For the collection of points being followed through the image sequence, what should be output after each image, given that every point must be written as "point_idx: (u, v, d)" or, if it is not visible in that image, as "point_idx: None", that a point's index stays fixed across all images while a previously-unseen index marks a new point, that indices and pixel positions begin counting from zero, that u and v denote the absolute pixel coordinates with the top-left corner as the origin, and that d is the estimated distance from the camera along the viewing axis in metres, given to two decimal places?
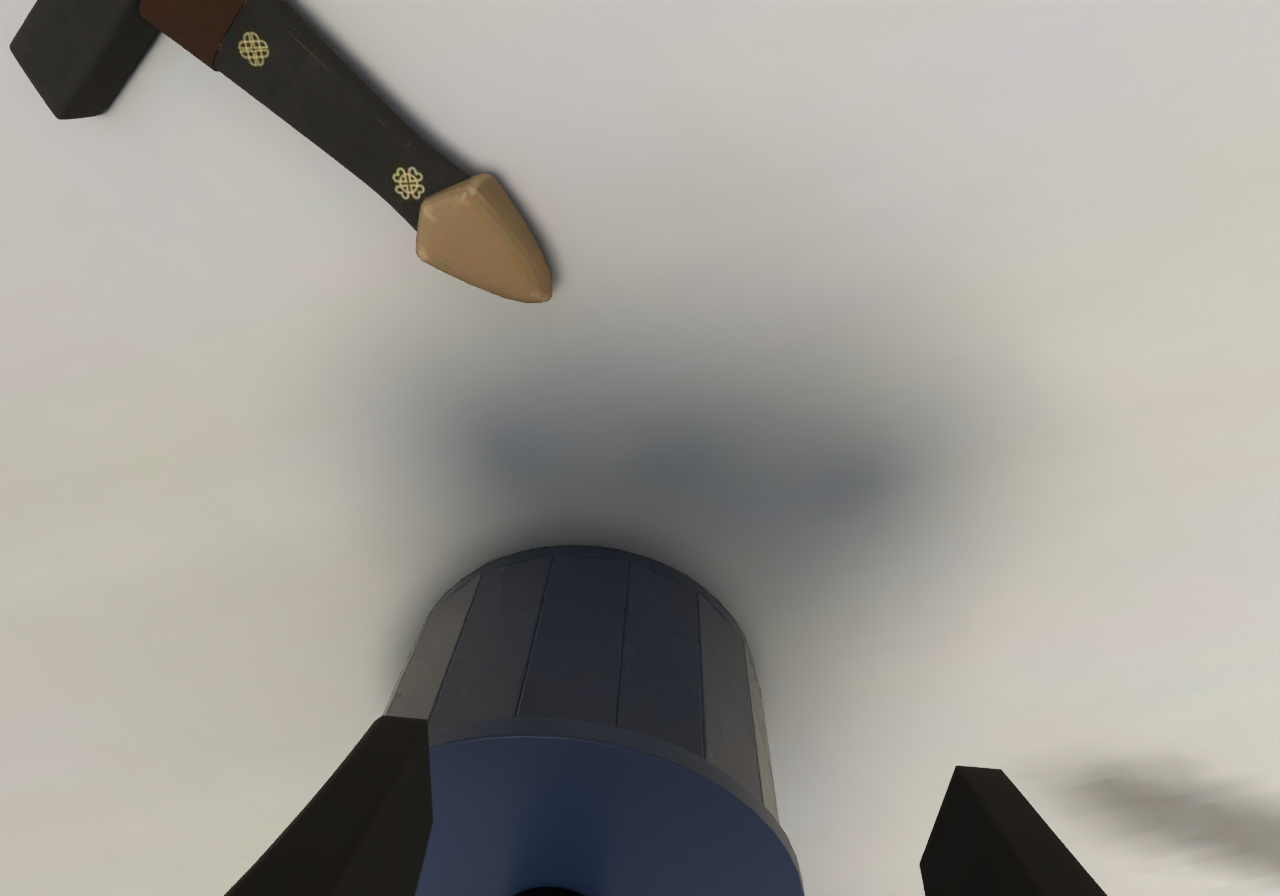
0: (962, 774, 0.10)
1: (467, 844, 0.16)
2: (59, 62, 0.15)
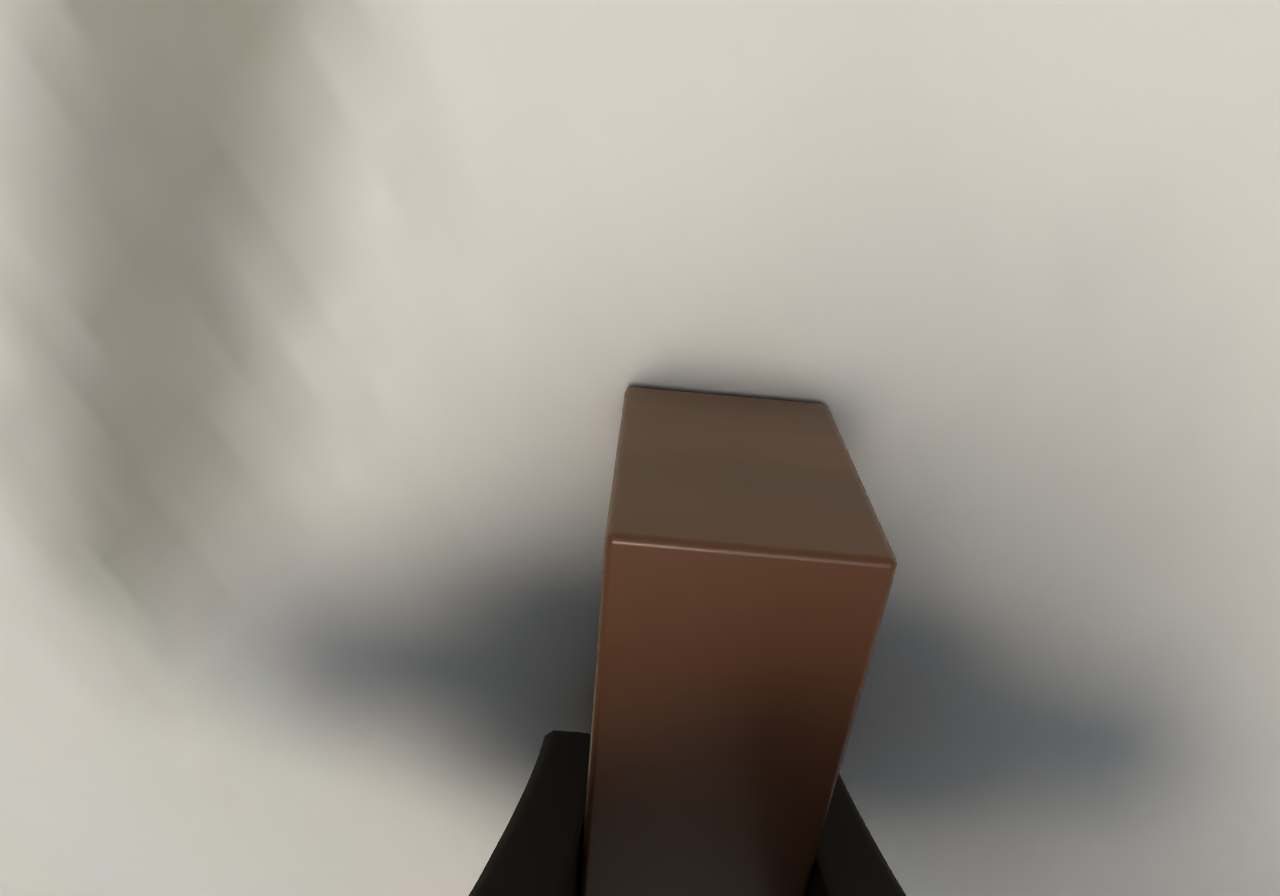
0: None
1: None
2: None
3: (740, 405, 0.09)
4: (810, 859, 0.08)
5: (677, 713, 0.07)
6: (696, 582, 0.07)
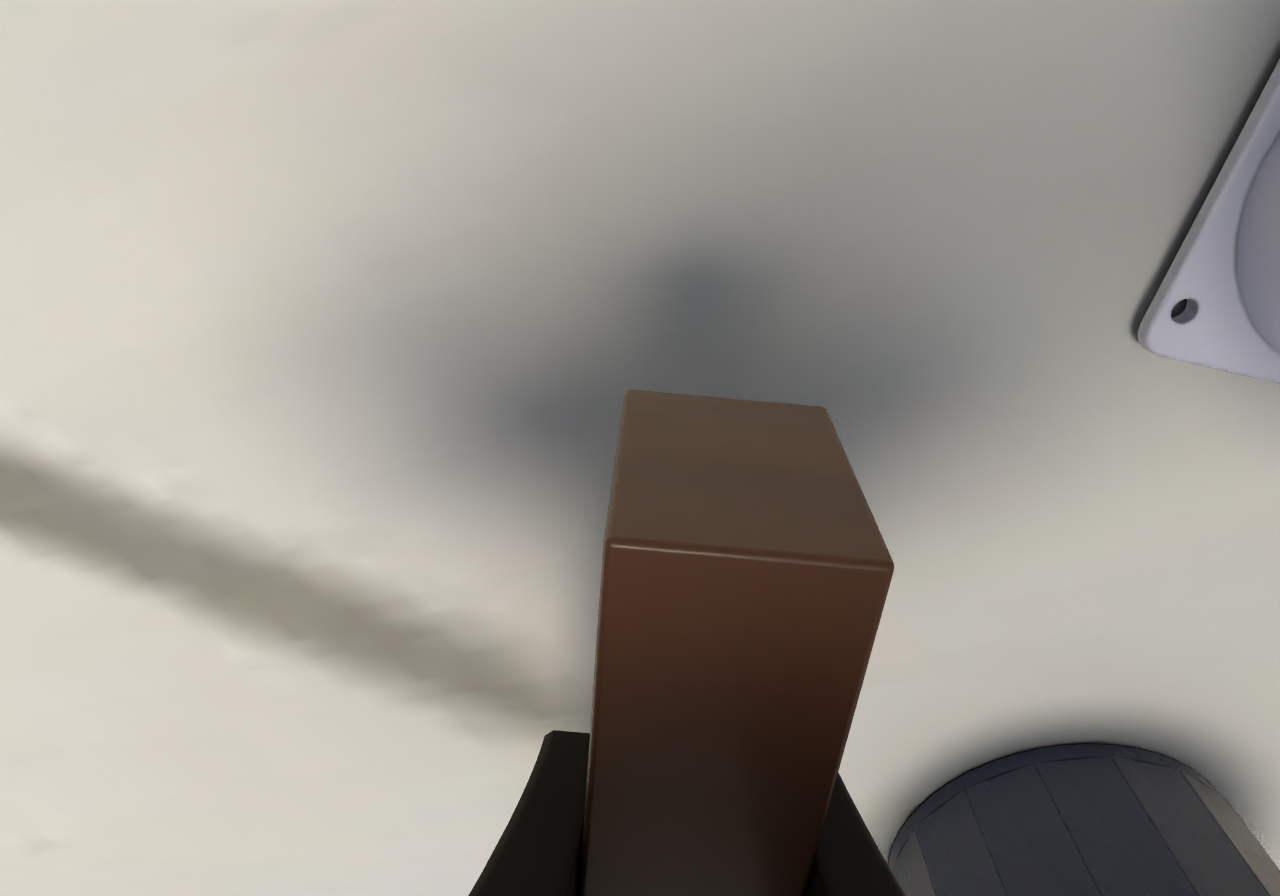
0: None
1: None
2: None
3: (739, 408, 0.09)
4: (809, 861, 0.08)
5: (677, 715, 0.07)
6: (695, 585, 0.07)
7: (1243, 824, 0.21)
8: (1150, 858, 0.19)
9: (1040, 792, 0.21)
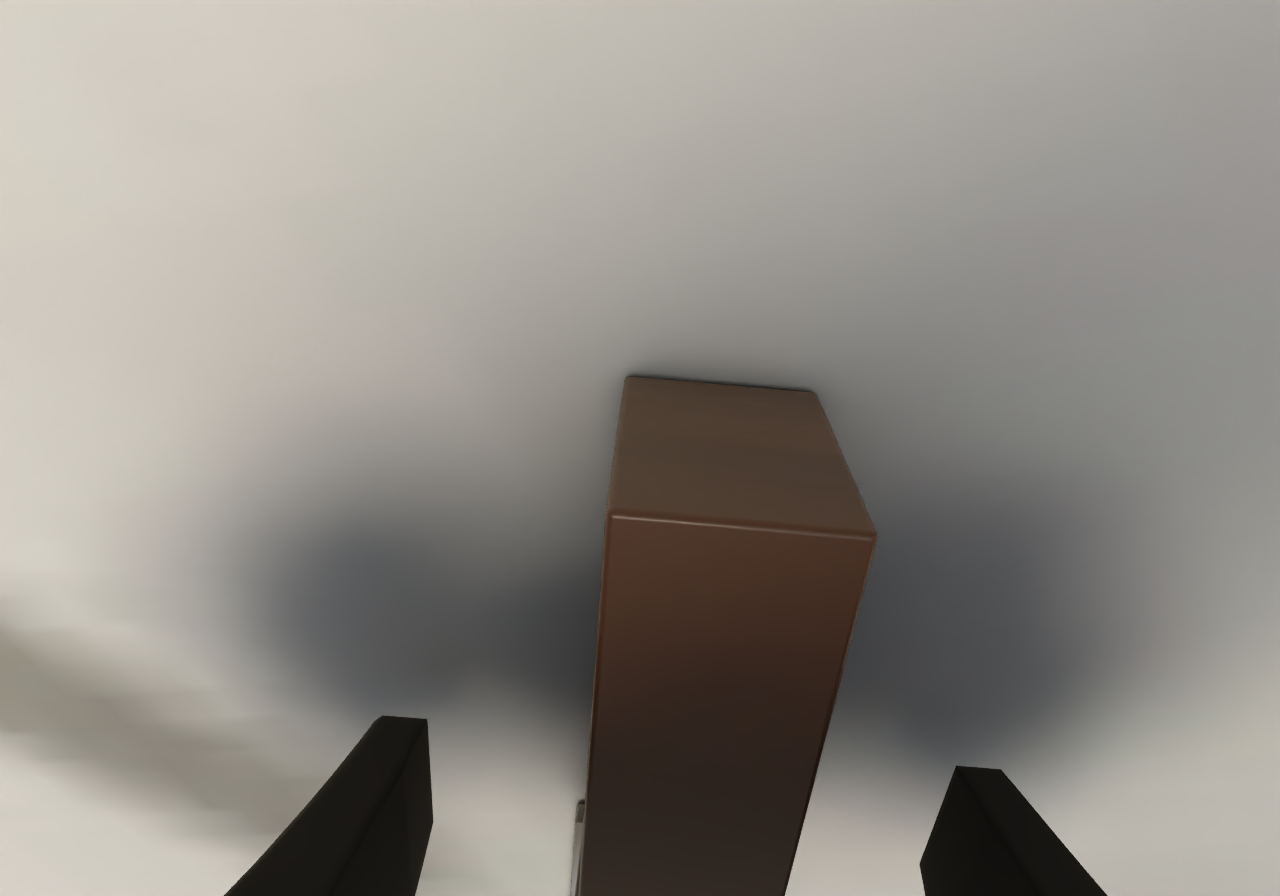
0: (963, 774, 0.10)
1: None
2: None
3: (733, 393, 0.10)
4: (800, 821, 0.09)
5: (674, 679, 0.08)
6: (692, 554, 0.07)
7: None
8: None
9: None
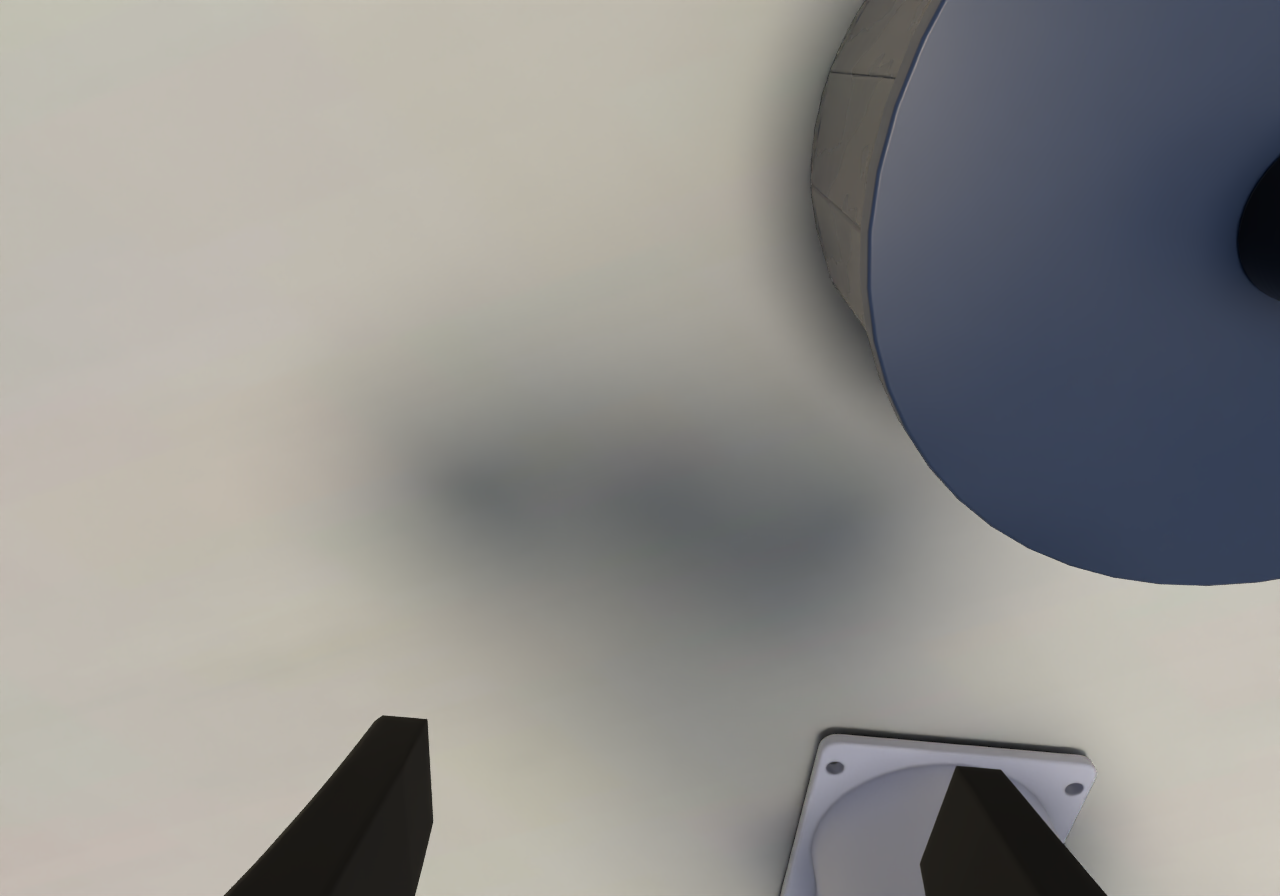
0: (962, 774, 0.10)
1: None
2: None
3: None
4: None
5: None
6: None
7: None
8: None
9: None
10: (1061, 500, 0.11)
